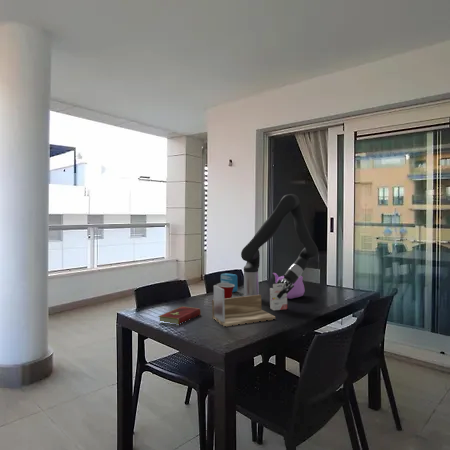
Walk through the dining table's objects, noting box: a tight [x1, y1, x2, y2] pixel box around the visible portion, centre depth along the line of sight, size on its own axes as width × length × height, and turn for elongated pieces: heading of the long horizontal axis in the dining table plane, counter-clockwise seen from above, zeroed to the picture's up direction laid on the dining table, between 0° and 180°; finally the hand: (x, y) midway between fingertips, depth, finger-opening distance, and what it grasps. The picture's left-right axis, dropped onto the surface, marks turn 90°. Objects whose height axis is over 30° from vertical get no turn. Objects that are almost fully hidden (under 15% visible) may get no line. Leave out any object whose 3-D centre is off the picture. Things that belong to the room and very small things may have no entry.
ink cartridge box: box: [269, 283, 288, 311], centre depth 203 cm, size 9×5×15 cm, turn 105°
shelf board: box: [211, 294, 276, 327], centre depth 185 cm, size 16×28×10 cm, turn 112°
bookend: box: [213, 284, 225, 322], centre depth 180 cm, size 12×1×16 cm, turn 22°
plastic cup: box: [216, 282, 235, 299], centre depth 217 cm, size 11×11×12 cm
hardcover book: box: [157, 306, 202, 324], centre depth 187 cm, size 12×21×4 cm, turn 153°
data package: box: [220, 273, 239, 293], centre depth 253 cm, size 12×4×12 cm, turn 48°
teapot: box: [272, 272, 306, 300], centre depth 237 cm, size 23×21×15 cm
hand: (275, 296), depth 202 cm, fingers closed on ink cartridge box, 5 cm apart
